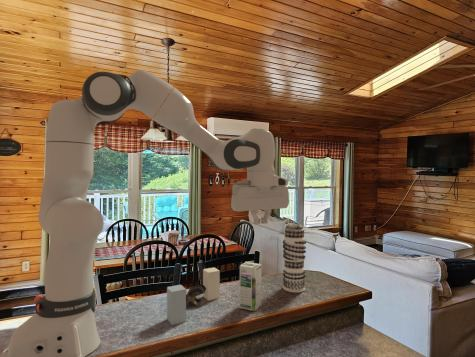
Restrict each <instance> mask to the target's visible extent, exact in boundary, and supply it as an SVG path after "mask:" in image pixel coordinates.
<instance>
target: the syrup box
mask: <svg viewBox="0 0 475 357" xmlns="http://www.w3.org/2000/svg"><path fill="white" fill-rule="evenodd" d="M261 306H262V263H256V262H255V263H254V262H249V261H246V262H244V263H242V264H240V265H239V309H241V310H243V309H244V310H246V311H252V312H255V311H257V310H258V309H259V307H261Z"/></svg>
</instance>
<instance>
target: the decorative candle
mask: <svg viewBox="0 0 475 357" xmlns="http://www.w3.org/2000/svg"><path fill="white" fill-rule="evenodd" d="M283 229H284V235H283V238H284V239H283V240H282V244H283V245H282V249H283V250H282V253H283V254H282V257H283V260H284V265H283V270H282V272H283V274H282V275H283V278H282V281H283V282H282V285H283V286H282V288H283V290H285V291H286V292H290V293H302V292H304V291H305V290H306V288H305V287H306V284H305V282H306V279H305V278H306V270H305V261H306V255H305V253H307V250H306V249H307V247H306V246H305V245H306V244H307V241H306V237H305V230H306V228H304V227H303V225H302V224H299V223H289V224H287V225H286V226H285V227H284V228H283Z"/></svg>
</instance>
